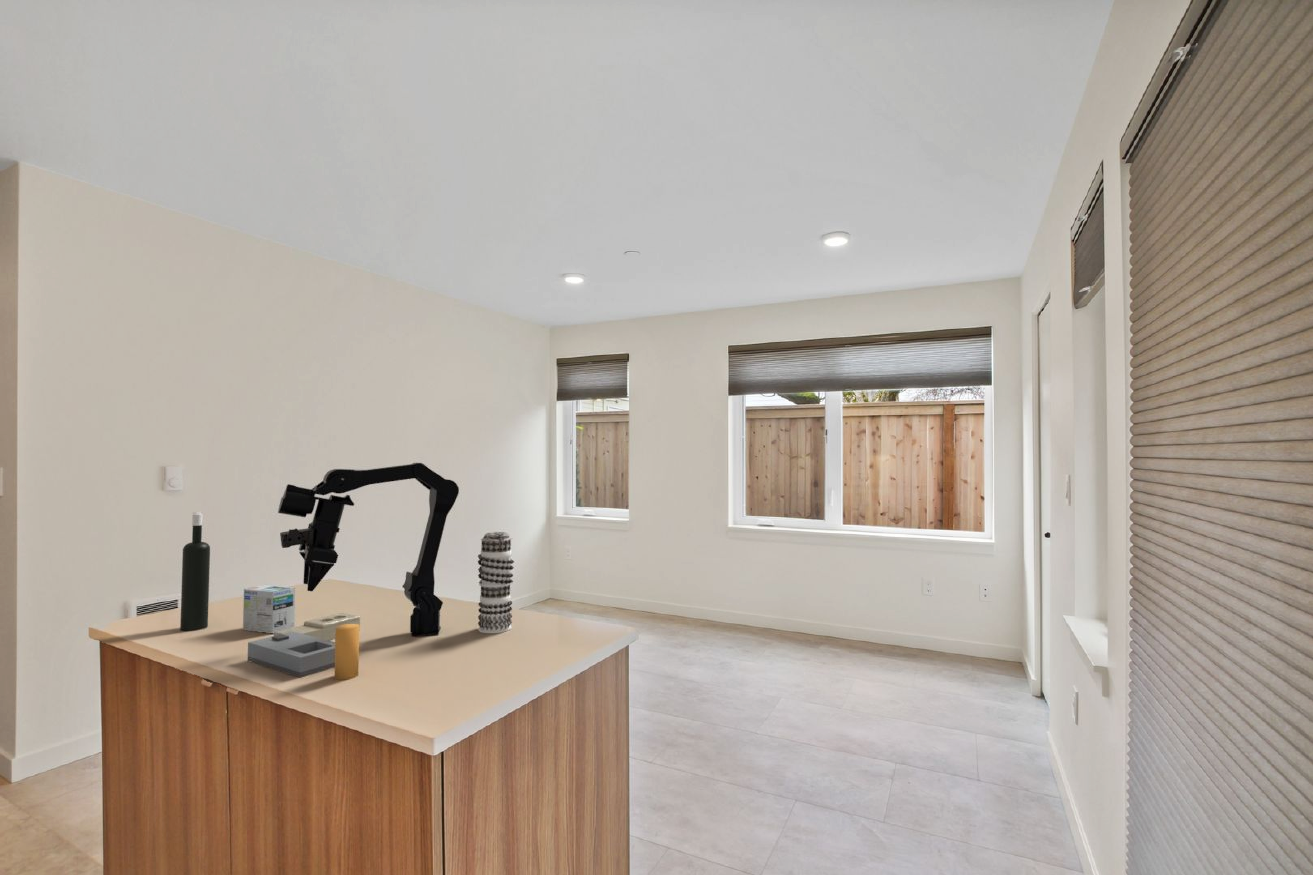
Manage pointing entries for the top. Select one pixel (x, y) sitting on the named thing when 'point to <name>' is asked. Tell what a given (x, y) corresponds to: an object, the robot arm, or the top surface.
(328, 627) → the electrical outlet
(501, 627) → the decorative candle
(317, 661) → the grey block with pocket
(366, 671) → the top surface
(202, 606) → the wine bottle
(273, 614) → the light bulb box
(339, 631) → the orange cylinder
